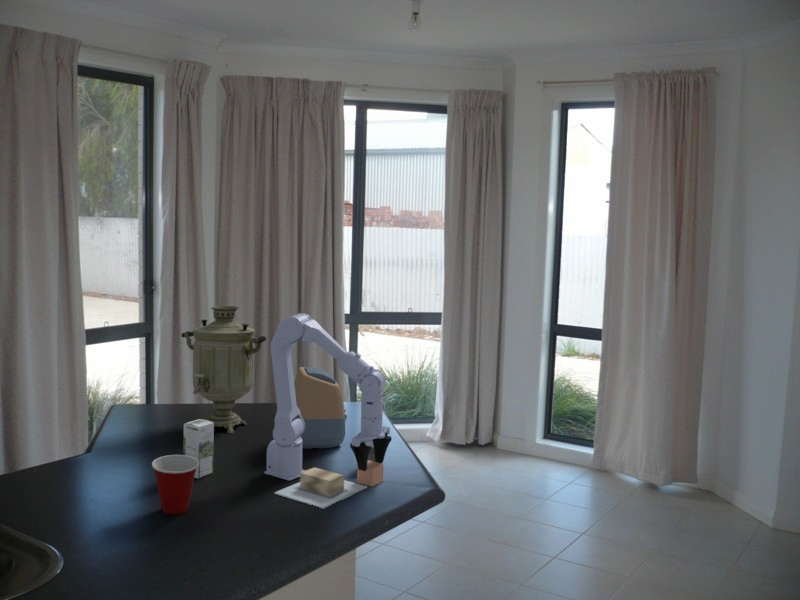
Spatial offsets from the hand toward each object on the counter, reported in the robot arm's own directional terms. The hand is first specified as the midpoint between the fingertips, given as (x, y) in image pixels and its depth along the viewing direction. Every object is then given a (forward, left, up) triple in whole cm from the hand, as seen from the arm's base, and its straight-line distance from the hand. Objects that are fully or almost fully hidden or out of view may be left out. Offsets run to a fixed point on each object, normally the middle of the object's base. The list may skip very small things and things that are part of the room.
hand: (370, 466), depth 201 cm
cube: (0, 0, -5) cm, 5 cm away
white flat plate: (-6, -13, -4) cm, 15 cm away
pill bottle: (-7, +10, -5) cm, 13 cm away
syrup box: (-40, -24, -5) cm, 47 cm away
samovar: (-69, +9, -5) cm, 70 cm away
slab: (-6, -13, -4) cm, 15 cm away
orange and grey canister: (-34, +18, -5) cm, 39 cm away
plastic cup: (-25, -44, -5) cm, 51 cm away
